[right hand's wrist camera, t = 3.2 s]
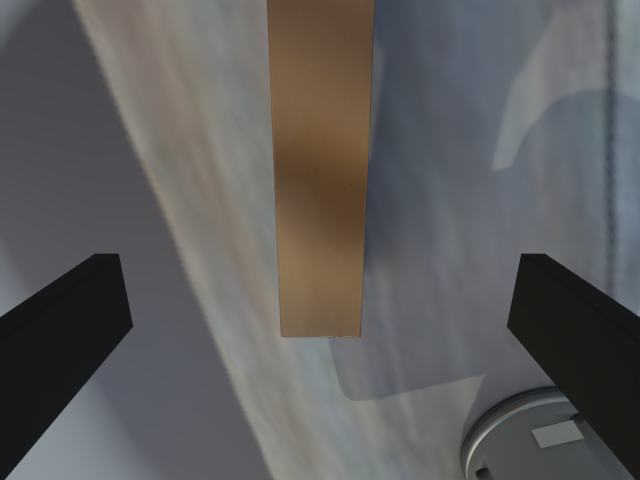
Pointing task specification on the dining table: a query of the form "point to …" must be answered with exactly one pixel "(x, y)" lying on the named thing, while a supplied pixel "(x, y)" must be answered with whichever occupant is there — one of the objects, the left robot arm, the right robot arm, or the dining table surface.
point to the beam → (320, 159)
